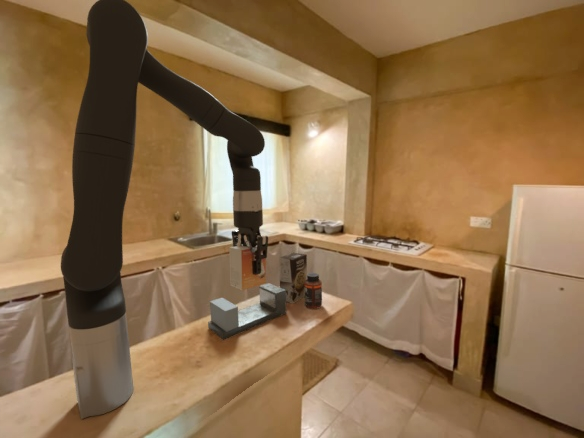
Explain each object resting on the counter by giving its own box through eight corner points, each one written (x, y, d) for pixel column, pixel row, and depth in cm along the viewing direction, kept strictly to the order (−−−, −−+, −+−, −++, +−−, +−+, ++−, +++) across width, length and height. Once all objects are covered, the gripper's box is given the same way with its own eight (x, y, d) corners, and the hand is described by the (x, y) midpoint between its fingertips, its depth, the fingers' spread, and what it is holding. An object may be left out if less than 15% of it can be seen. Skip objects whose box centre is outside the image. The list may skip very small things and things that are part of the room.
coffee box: (293, 304, 99) (292, 259, 97) (279, 299, 103) (278, 257, 101) (307, 295, 107) (307, 254, 105) (294, 291, 111) (293, 251, 108)
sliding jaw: (226, 331, 77) (225, 311, 77) (211, 320, 84) (210, 301, 83) (238, 326, 80) (237, 306, 79) (223, 316, 87) (222, 297, 86)
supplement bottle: (324, 304, 99) (324, 273, 97) (317, 311, 94) (317, 278, 92) (309, 300, 102) (309, 270, 100) (301, 307, 97) (301, 275, 95)
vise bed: (223, 340, 77) (222, 312, 76) (208, 328, 84) (206, 302, 83) (286, 313, 92) (285, 289, 91) (269, 304, 99) (268, 283, 98)
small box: (241, 291, 70) (240, 250, 69) (229, 285, 74) (228, 246, 73) (266, 283, 75) (266, 245, 74) (254, 278, 79) (253, 242, 78)
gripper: (221, 207, 75) (224, 268, 78) (251, 211, 65) (253, 281, 67) (245, 205, 80) (247, 263, 83) (276, 208, 70) (278, 274, 72)
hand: (250, 271), depth 75 cm, fingers closed on small box, 5 cm apart
